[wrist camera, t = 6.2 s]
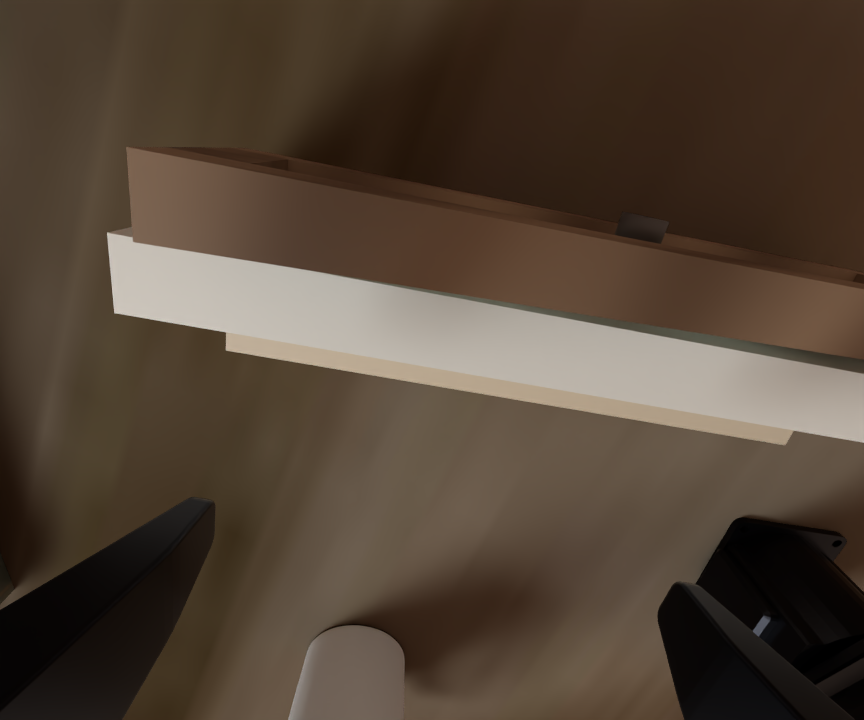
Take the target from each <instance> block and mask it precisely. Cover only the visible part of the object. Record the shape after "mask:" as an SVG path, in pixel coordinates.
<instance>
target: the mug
mask: <svg viewBox="0 0 864 720" xmlns="http://www.w3.org/2000/svg"><path fill="white" fill-rule="evenodd" d="M404 671H405V658H404V653H403V650H402V648H401V647H400V645H399V644H398V642H397V641H396V640H395V639H394V638H392V637H391V636H390V635H388V634H386V633H385V632H383V631H380V630H378V629H375V628H371V627H367V626H360V625H347V626H340V627H336V628H332V629H330V630H327V631H325V632H323V633H322V634H320V635H319V636H318V637H316V638H315V639H314V640H313V642H312V643H311V644H310V646H309V648H308V651H307V654H306V658H305V662H304V665H303V669H302V673H301V676H300V680H299V683H298V686H297V690H296V693H295V696H294V700H293V704H292V708H291V712H290V715H289V719H288V720H404Z"/></svg>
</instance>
